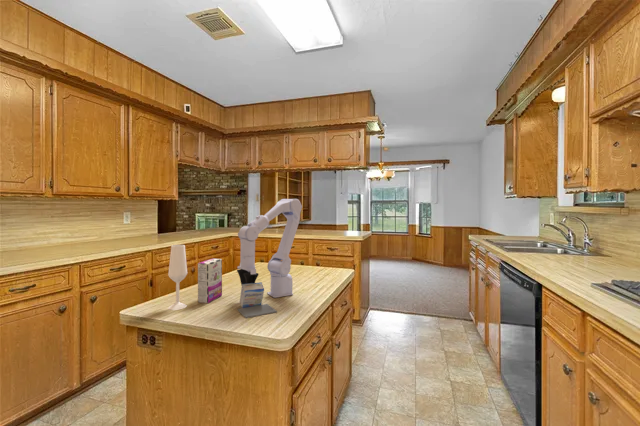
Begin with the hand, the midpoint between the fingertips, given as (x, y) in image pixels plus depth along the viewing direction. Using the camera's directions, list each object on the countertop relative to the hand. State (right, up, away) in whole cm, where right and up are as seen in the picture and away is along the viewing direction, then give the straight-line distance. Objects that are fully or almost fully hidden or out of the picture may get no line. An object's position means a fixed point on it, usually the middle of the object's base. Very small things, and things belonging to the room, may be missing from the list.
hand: (247, 288), depth 122 cm
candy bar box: (-17, -6, +4) cm, 18 cm away
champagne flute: (-25, -6, -7) cm, 27 cm away
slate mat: (+6, -6, -9) cm, 13 cm away
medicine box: (+2, -5, -3) cm, 7 cm away
